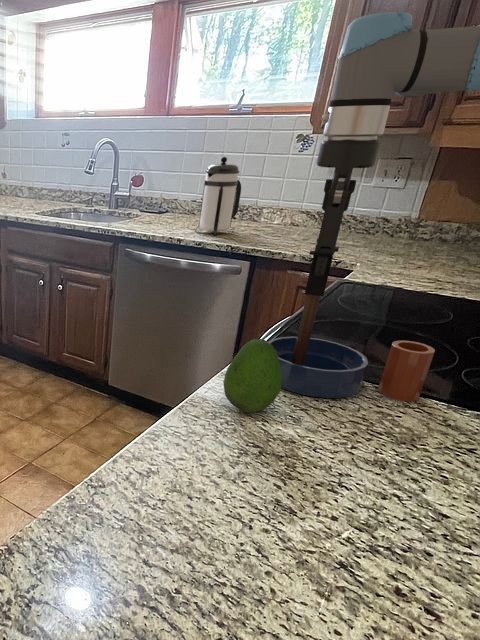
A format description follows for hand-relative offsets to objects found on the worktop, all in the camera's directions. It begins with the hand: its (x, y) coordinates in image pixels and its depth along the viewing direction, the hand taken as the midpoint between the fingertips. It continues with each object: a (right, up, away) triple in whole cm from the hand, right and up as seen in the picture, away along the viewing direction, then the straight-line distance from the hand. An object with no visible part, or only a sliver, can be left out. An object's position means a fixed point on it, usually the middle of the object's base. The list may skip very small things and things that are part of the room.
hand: (314, 292), depth 87 cm
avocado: (-13, -19, -4) cm, 24 cm away
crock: (+13, -17, -1) cm, 22 cm away
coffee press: (+39, +43, +135) cm, 147 cm away
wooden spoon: (0, -12, +5) cm, 13 cm away
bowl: (+2, -15, +5) cm, 16 cm away
